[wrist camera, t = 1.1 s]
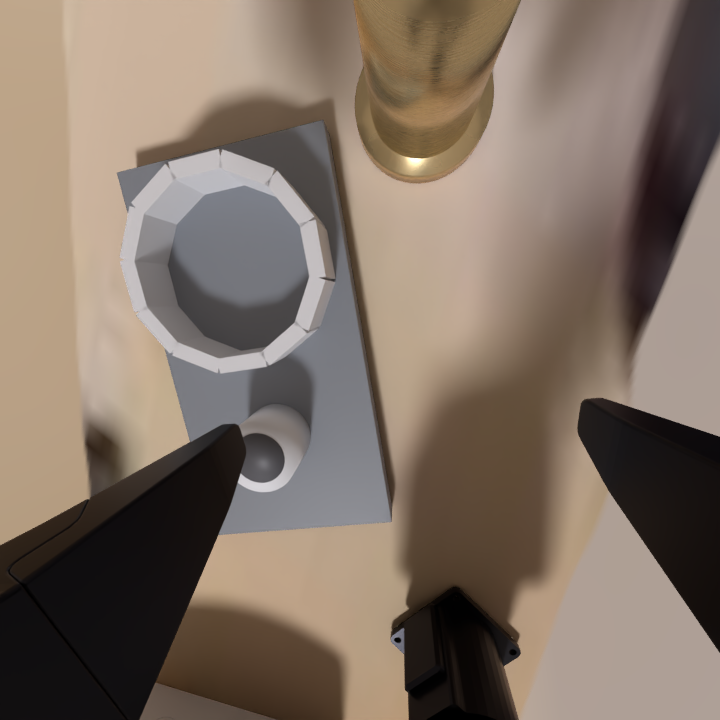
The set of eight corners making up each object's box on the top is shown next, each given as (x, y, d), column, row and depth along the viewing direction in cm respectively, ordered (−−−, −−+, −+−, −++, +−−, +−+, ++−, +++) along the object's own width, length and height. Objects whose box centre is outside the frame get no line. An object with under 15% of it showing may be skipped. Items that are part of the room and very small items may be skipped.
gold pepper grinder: (515, 107, 17) (734, -248, 6) (419, 210, 19) (449, 81, 7) (423, 7, 17) (471, -569, 6) (332, 120, 18) (226, -157, 7)
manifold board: (391, 507, 22) (390, 560, 18) (226, 520, 24) (187, 571, 20) (329, 133, 18) (306, 81, 14) (137, 181, 20) (62, 149, 16)
